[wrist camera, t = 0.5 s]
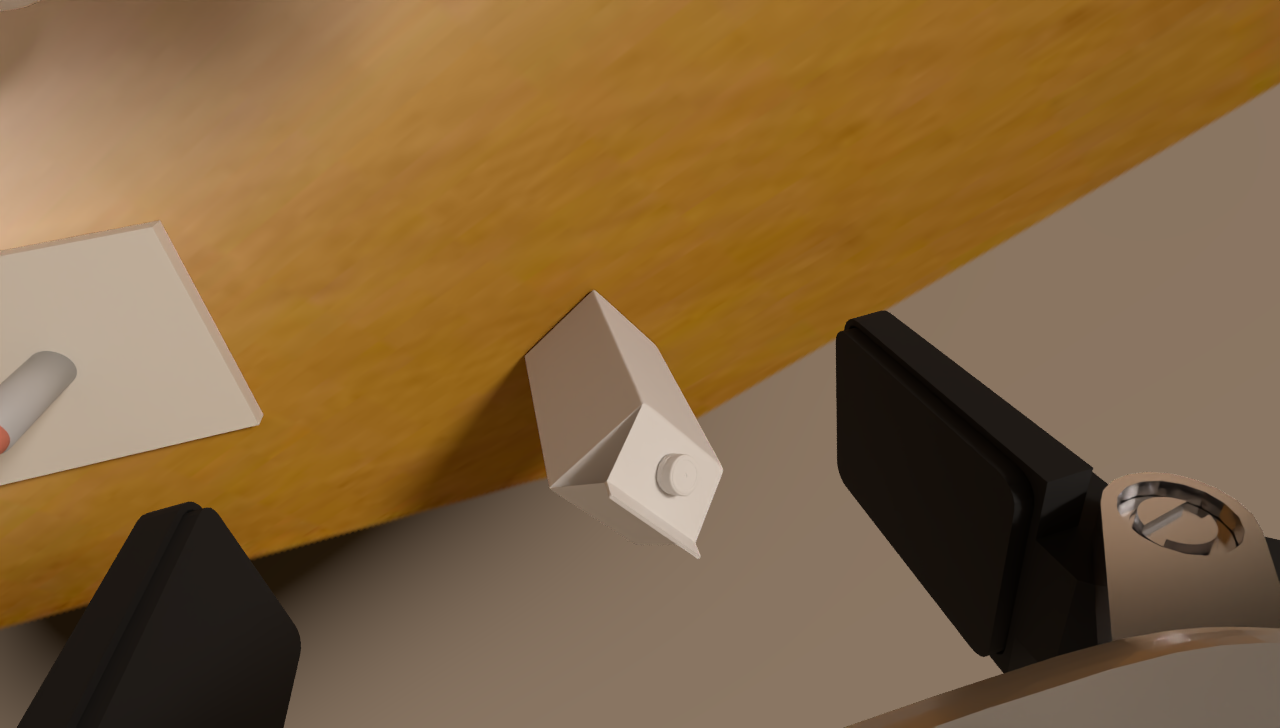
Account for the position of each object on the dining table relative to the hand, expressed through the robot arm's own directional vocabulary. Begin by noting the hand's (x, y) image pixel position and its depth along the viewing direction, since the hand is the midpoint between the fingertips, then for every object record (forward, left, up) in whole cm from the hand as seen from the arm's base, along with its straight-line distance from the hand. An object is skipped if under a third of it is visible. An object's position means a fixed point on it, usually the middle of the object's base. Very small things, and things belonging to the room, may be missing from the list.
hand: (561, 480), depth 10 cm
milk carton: (+18, +4, -35) cm, 40 cm away
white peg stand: (+10, -28, -35) cm, 46 cm away
